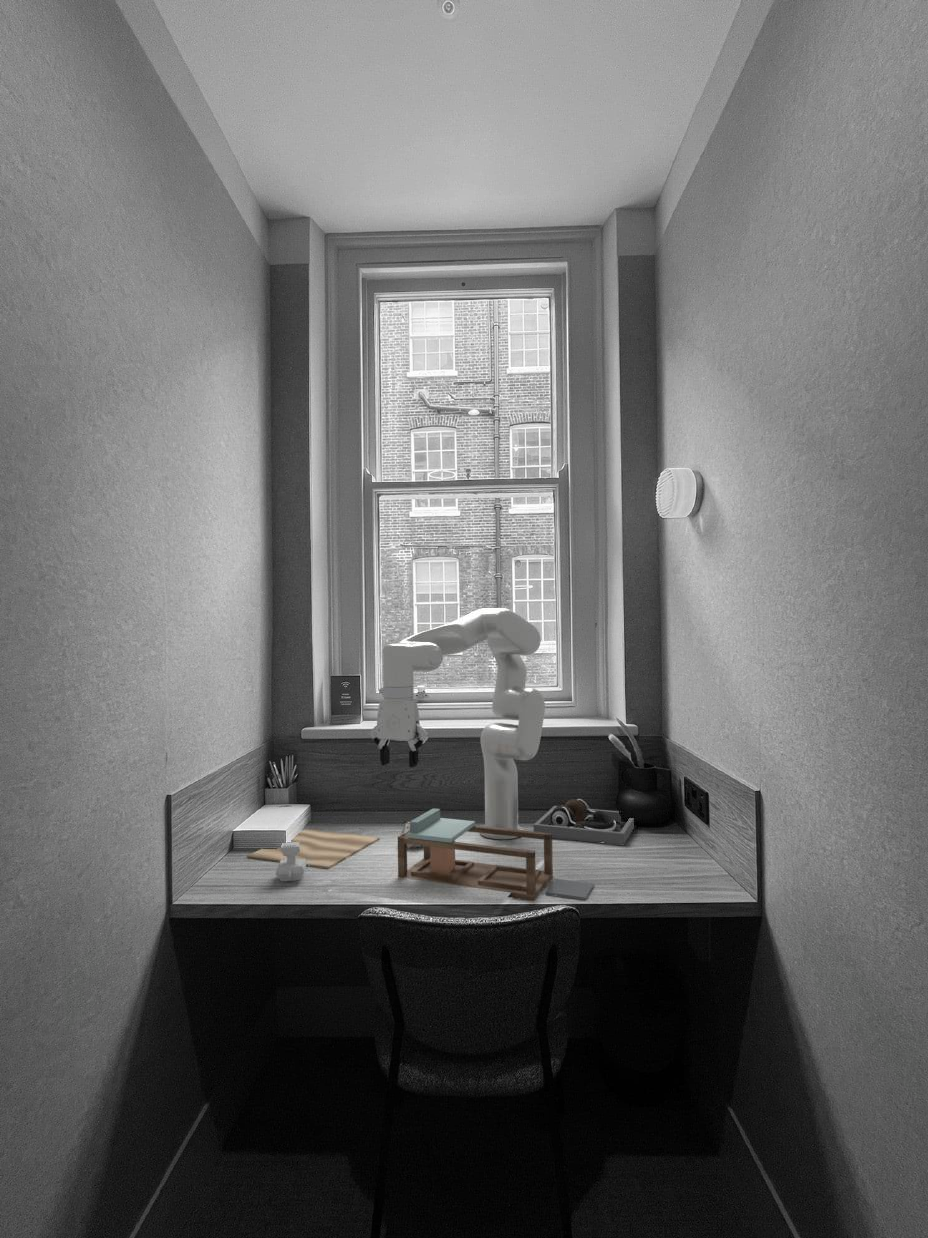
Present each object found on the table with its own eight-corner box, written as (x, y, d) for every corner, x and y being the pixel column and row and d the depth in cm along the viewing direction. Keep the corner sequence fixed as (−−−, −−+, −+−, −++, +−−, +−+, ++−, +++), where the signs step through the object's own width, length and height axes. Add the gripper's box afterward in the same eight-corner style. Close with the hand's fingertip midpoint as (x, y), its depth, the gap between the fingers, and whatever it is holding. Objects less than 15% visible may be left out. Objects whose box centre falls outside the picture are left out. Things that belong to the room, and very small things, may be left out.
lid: (434, 821, 183) (434, 807, 183) (475, 825, 179) (474, 811, 179) (408, 838, 169) (407, 823, 169) (451, 842, 165) (450, 827, 165)
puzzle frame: (426, 861, 184) (426, 820, 184) (552, 877, 172) (552, 833, 172) (398, 881, 170) (397, 837, 170) (533, 901, 157) (533, 853, 157)
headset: (571, 792, 222) (634, 811, 212) (568, 817, 223) (630, 836, 212) (547, 805, 208) (613, 825, 197) (544, 831, 208) (609, 852, 198)
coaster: (555, 881, 169) (555, 878, 169) (594, 886, 166) (594, 883, 166) (545, 894, 161) (545, 892, 161) (585, 900, 157) (585, 897, 157)
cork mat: (305, 830, 213) (305, 829, 213) (379, 839, 203) (379, 837, 203) (247, 857, 189) (247, 855, 189) (328, 869, 179) (328, 867, 179)
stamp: (304, 885, 169) (303, 849, 169) (274, 886, 168) (274, 850, 168) (307, 872, 178) (307, 837, 178) (279, 873, 177) (279, 839, 177)
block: (438, 866, 177) (438, 837, 177) (455, 868, 175) (454, 839, 175) (430, 872, 173) (430, 842, 173) (447, 874, 171) (447, 844, 171)
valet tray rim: (554, 816, 225) (554, 805, 225) (637, 823, 216) (636, 813, 216) (533, 836, 205) (533, 824, 205) (623, 845, 195) (623, 833, 195)
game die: (407, 864, 193) (385, 833, 195) (428, 846, 199) (407, 816, 200) (422, 855, 187) (399, 823, 188) (443, 836, 193) (421, 806, 194)
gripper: (360, 694, 179) (360, 766, 178) (423, 696, 172) (424, 770, 172) (375, 691, 185) (375, 760, 185) (436, 693, 179) (437, 764, 179)
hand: (399, 764), depth 179 cm, fingers open, 7 cm apart
